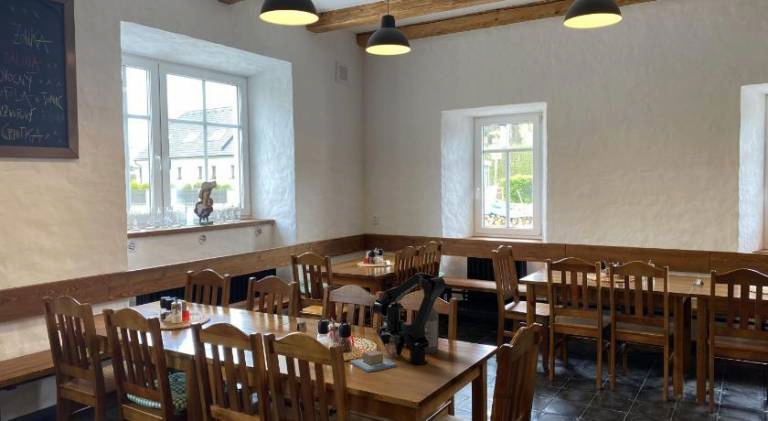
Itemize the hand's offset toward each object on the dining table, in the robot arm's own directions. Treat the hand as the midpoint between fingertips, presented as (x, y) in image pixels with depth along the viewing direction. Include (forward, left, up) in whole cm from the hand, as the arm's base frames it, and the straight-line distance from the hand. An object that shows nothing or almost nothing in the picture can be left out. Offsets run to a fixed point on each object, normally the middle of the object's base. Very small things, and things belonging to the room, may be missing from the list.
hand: (393, 353), depth 264 cm
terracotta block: (0, 0, -1) cm, 1 cm away
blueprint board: (-6, +14, -1) cm, 15 cm away
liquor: (-2, -17, -1) cm, 17 cm away
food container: (+16, -11, -1) cm, 19 cm away
